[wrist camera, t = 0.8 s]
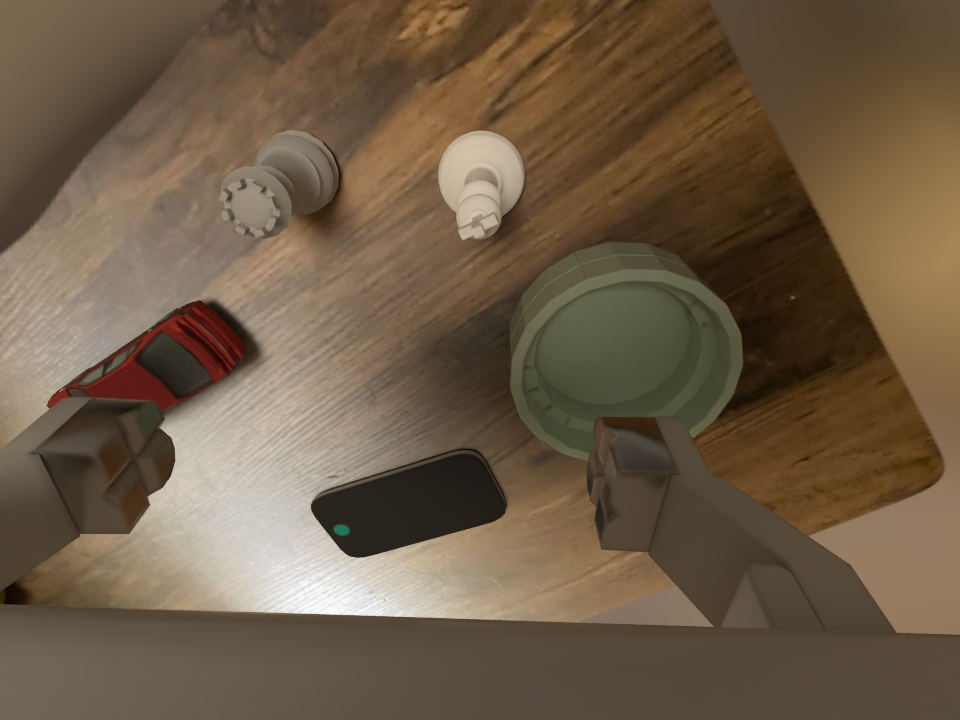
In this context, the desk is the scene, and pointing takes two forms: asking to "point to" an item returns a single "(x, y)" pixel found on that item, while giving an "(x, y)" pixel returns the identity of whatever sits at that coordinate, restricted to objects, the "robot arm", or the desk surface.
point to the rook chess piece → (279, 184)
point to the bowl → (620, 345)
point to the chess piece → (480, 181)
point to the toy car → (164, 361)
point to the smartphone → (410, 504)
